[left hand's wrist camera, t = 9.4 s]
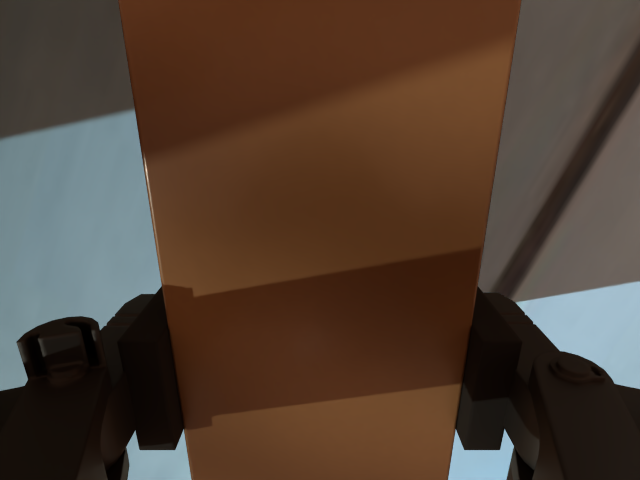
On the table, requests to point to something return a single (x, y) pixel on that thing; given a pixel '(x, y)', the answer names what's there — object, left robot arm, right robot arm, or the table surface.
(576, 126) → the table surface
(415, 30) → the cabinet
